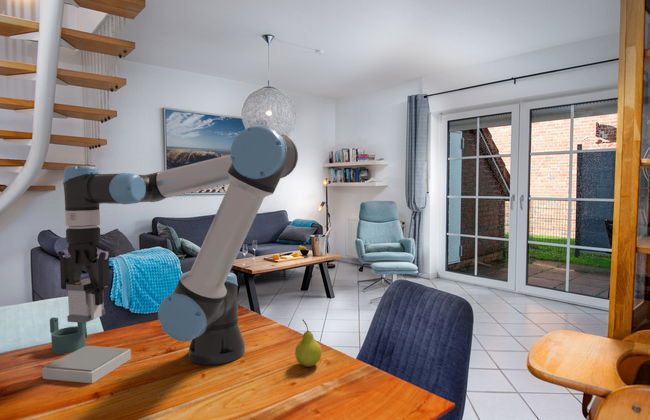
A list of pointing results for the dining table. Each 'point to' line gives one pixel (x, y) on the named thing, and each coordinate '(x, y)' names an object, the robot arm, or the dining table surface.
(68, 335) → the bracket
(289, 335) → the dining table surface
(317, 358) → the fruit
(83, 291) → the housing
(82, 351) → the stand
